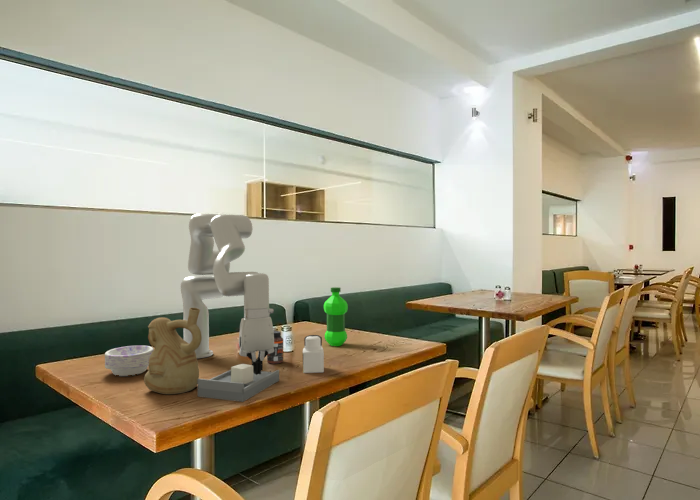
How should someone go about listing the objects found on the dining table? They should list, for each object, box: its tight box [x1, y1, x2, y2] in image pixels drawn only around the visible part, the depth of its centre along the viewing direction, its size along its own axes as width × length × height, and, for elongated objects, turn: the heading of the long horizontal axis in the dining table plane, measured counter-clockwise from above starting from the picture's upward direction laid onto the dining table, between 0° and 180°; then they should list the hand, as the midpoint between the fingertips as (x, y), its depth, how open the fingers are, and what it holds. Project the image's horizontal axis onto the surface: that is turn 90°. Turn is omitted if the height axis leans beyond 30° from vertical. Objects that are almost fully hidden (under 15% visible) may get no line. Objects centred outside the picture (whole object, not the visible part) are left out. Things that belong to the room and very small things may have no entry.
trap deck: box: [197, 369, 280, 403], centre depth 141 cm, size 15×22×5 cm
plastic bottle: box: [323, 286, 349, 347], centre depth 202 cm, size 10×10×25 cm
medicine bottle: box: [302, 334, 325, 374], centre depth 161 cm, size 7×7×12 cm
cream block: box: [230, 363, 253, 384], centre depth 139 cm, size 5×5×5 cm
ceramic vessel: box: [143, 308, 202, 395], centre depth 140 cm, size 17×20×25 cm
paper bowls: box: [104, 345, 155, 377], centre depth 159 cm, size 15×15×8 cm
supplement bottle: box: [266, 330, 284, 365], centre depth 172 cm, size 6×6×11 cm
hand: (257, 373), depth 142 cm, fingers closed
